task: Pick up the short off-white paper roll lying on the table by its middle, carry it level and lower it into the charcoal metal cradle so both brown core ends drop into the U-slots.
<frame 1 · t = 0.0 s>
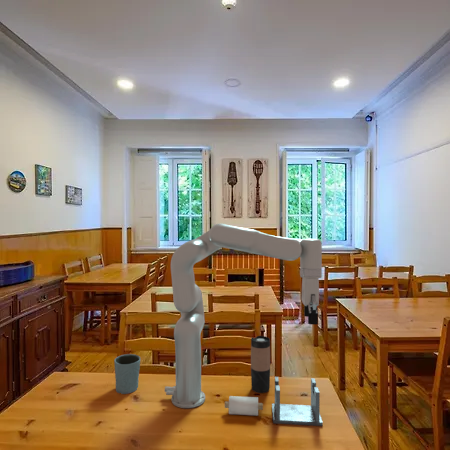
hand: (310, 320, 122), 31 cm above the table, fingers open, 9 cm apart
travel mug: (260, 389, 135), on the table
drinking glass: (127, 389, 136), on the table
roll holder: (296, 416, 116), on the table
paper roll: (243, 413, 118), on the table
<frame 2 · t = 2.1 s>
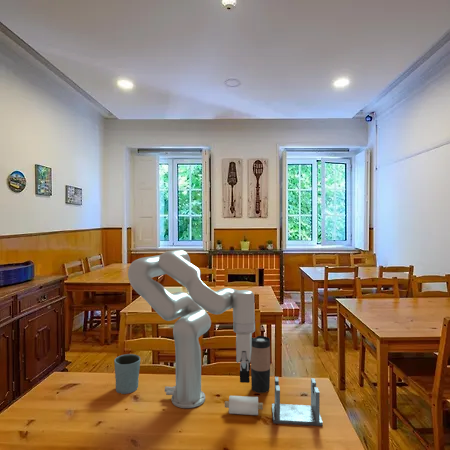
hand: (245, 375, 118), 13 cm above the table, fingers open, 9 cm apart
paper roll: (243, 413, 118), on the table, tilted 6°
everything else where it was.
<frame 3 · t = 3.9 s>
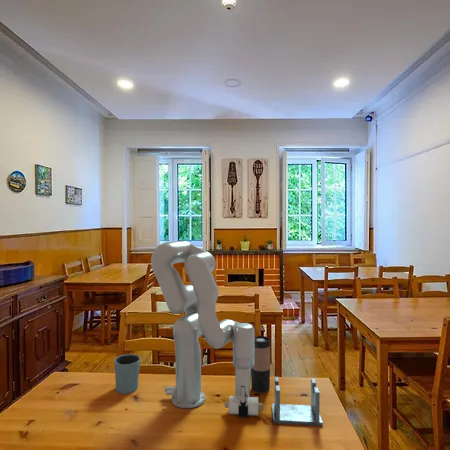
hand: (243, 411, 118), 1 cm above the table, fingers closed on paper roll, 5 cm apart
paper roll: (243, 413, 118), on the table, touching gripper
everything else where it was.
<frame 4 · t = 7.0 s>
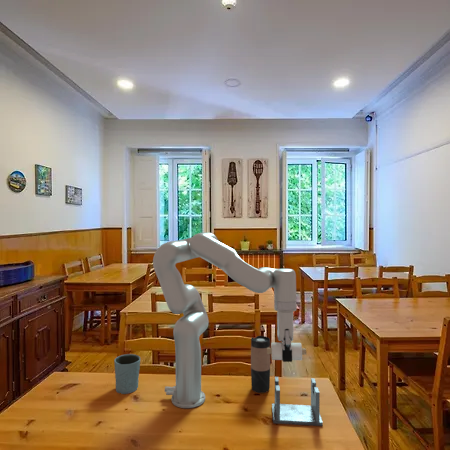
hand: (286, 357, 116), 20 cm above the table, fingers closed on paper roll, 5 cm apart
paper roll: (286, 359, 116), point 19 cm above the table, touching gripper
everything else where it was.
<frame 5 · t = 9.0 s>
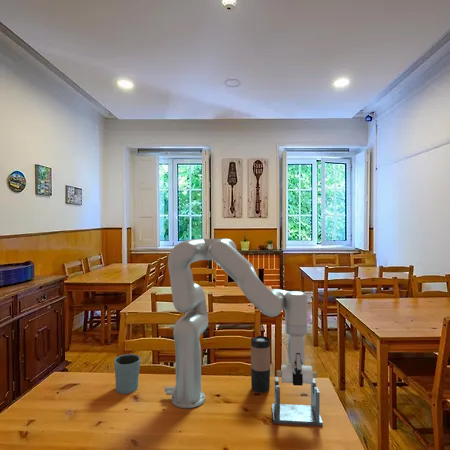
hand: (296, 380, 116), 12 cm above the table, fingers closed on paper roll, 5 cm apart
paper roll: (296, 382, 116), point 12 cm above the table, touching gripper
everything else where it was.
when the fingers open (8 cm above the table, at t = 10.5 s): paper roll drops 1 cm, resting on roll holder.
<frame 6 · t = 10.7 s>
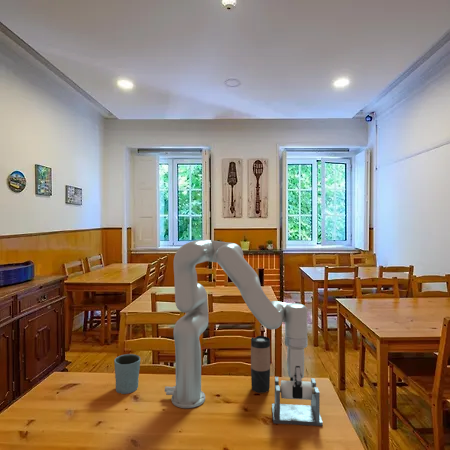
hand: (296, 391, 116), 8 cm above the table, fingers open, 7 cm apart
paper roll: (296, 398, 116), point 6 cm above the table, touching roll holder
everything else where it was.
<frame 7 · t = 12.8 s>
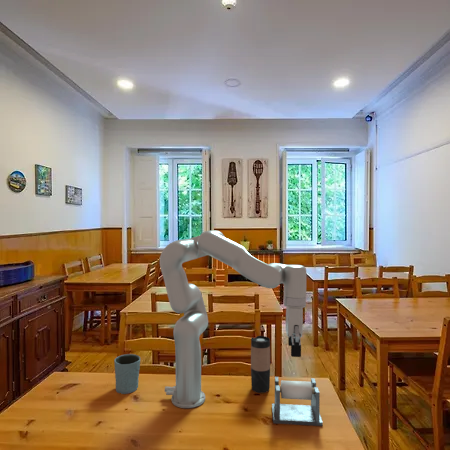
hand: (294, 350, 116), 22 cm above the table, fingers open, 9 cm apart
nothing on the table moved.
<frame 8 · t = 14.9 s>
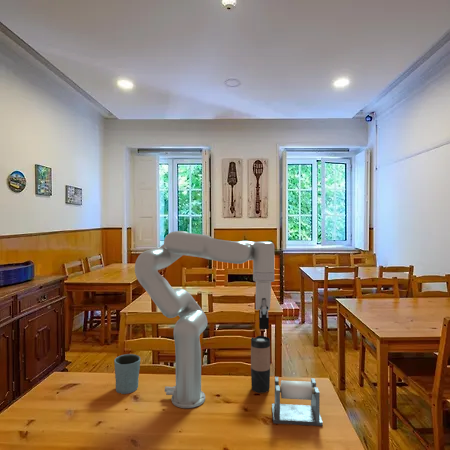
hand: (263, 324, 120), 30 cm above the table, fingers open, 9 cm apart
nothing on the table moved.
at the end: paper roll 0.0 cm off-centre on the roll holder, point 6.2 cm above the roll holder's base; paper roll touching roll holder; the gripper is holding nothing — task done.
